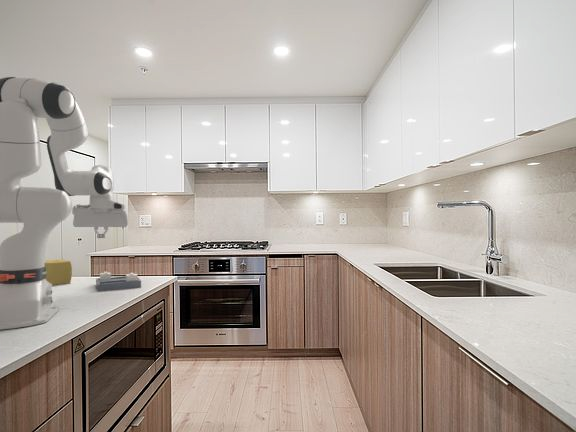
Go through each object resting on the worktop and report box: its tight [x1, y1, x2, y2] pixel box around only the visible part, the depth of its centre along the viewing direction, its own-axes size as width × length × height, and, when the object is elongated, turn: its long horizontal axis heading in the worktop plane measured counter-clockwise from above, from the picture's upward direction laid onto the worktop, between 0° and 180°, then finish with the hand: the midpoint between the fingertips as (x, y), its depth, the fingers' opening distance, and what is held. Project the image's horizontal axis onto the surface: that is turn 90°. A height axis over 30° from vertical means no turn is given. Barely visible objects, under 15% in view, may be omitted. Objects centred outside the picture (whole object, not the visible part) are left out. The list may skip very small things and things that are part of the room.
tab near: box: [125, 272, 138, 282], centre depth 148 cm, size 3×4×4 cm
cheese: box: [45, 258, 73, 286], centre depth 153 cm, size 10×11×10 cm
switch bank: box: [95, 275, 142, 292], centre depth 149 cm, size 14×16×3 cm
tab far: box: [99, 270, 112, 280], centre depth 150 cm, size 3×4×4 cm
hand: (101, 238), depth 146 cm, fingers closed
